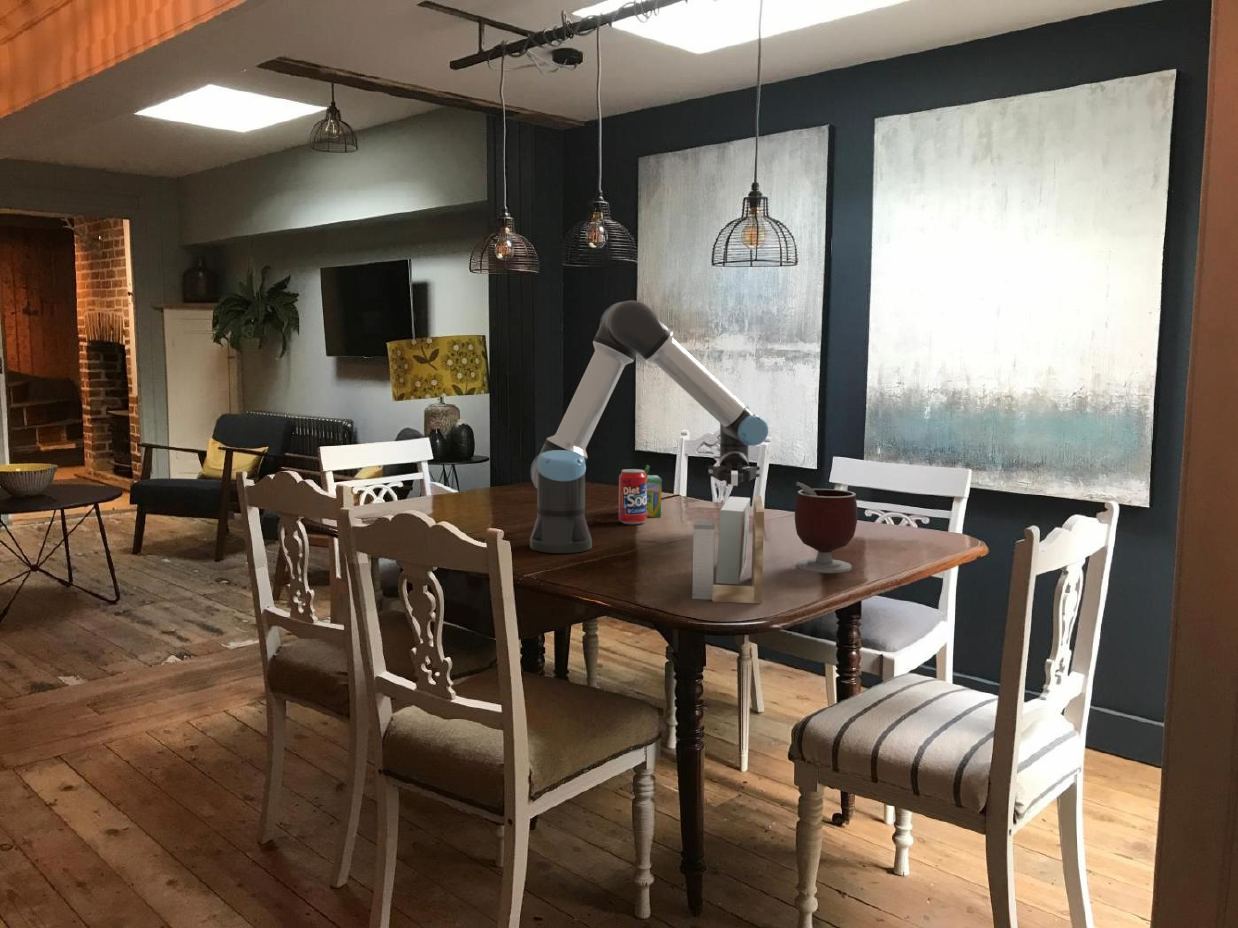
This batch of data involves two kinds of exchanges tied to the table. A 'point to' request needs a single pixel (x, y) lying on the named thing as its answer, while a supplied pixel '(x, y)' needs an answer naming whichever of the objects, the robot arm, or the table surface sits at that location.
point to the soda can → (632, 496)
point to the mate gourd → (825, 526)
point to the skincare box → (733, 540)
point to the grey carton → (703, 558)
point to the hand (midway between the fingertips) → (734, 479)
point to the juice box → (653, 494)
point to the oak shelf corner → (755, 591)
